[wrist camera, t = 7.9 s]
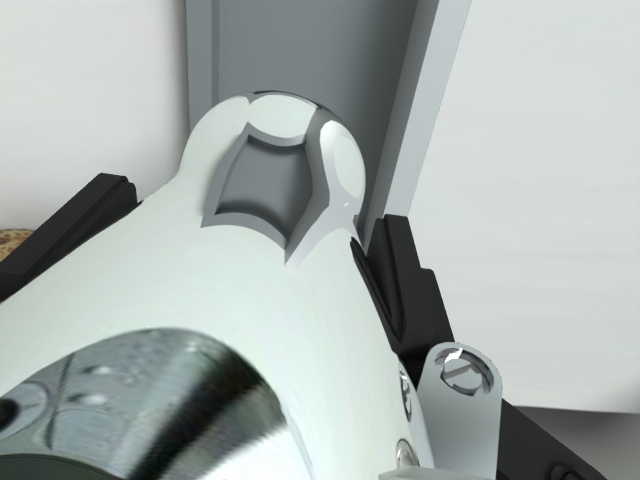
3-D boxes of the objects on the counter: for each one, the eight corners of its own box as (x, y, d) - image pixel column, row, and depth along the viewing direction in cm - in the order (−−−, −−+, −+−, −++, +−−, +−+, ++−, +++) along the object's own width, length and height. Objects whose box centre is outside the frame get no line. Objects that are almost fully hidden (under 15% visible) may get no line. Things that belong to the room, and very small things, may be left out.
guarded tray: (461, -86, 19) (502, -102, 14) (376, 238, 29) (383, 296, 24) (199, -132, 19) (146, -166, 14) (204, 213, 29) (174, 266, 24)
